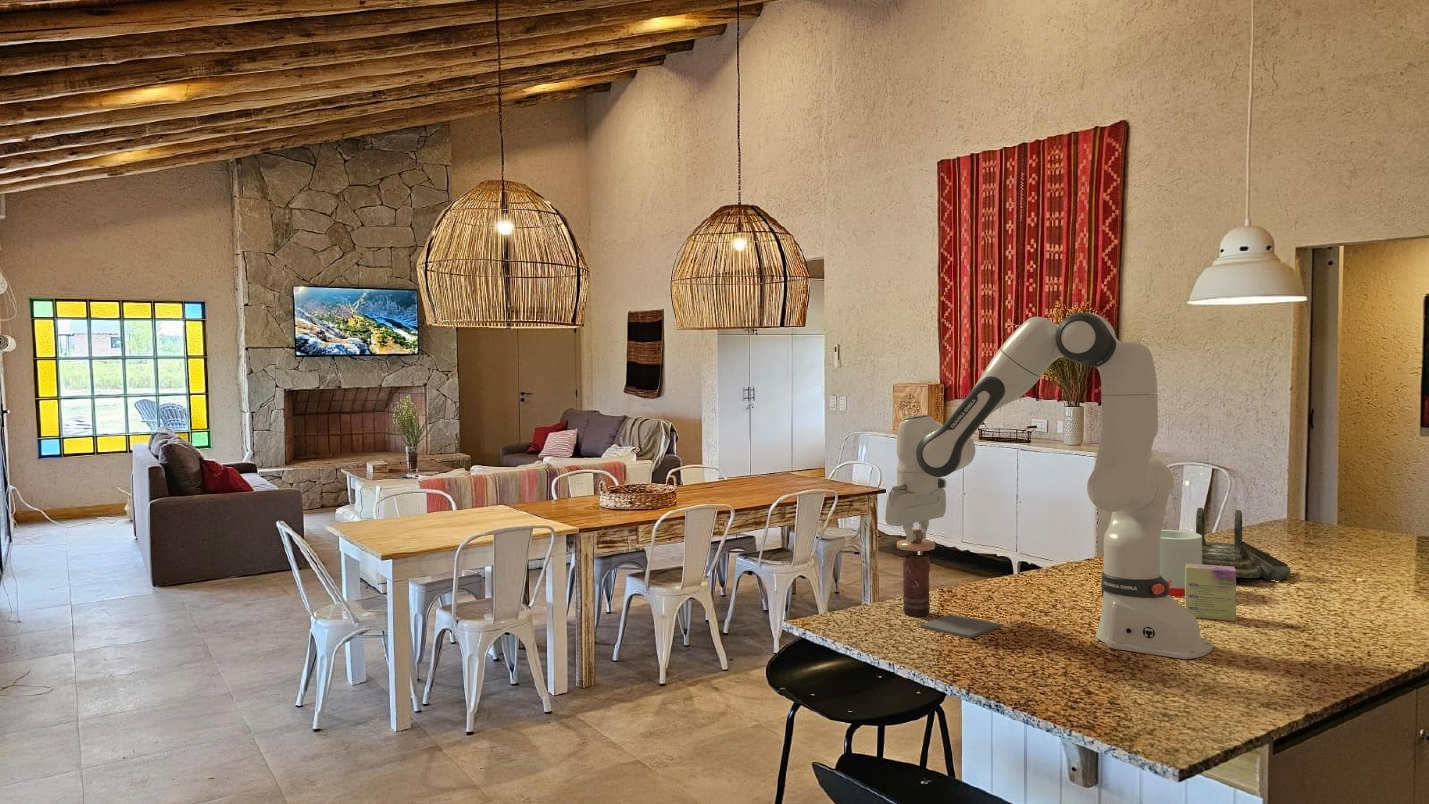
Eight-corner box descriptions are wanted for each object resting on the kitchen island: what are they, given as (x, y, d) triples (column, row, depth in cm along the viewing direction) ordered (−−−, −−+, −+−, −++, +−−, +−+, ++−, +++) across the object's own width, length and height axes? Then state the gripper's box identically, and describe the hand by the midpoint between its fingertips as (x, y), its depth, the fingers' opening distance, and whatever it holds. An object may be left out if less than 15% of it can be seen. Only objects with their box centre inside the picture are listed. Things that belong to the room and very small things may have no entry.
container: (1139, 594, 243) (1138, 538, 243) (1135, 581, 258) (1135, 528, 258) (1208, 599, 238) (1208, 541, 237) (1200, 585, 252) (1200, 530, 252)
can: (930, 617, 225) (930, 559, 224) (903, 616, 226) (902, 558, 226) (930, 611, 231) (929, 554, 230) (903, 610, 232) (903, 553, 231)
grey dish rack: (1166, 555, 293) (1166, 497, 292) (1294, 567, 273) (1294, 505, 273) (1142, 577, 264) (1142, 513, 264) (1283, 591, 245) (1283, 522, 244)
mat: (1001, 626, 216) (1001, 624, 216) (970, 638, 207) (970, 635, 207) (952, 616, 225) (952, 614, 225) (920, 627, 216) (920, 624, 216)
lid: (942, 547, 228) (942, 529, 228) (921, 552, 221) (921, 534, 221) (910, 542, 234) (910, 525, 234) (889, 547, 228) (889, 530, 228)
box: (1234, 615, 222) (1234, 565, 221) (1236, 621, 216) (1236, 570, 216) (1184, 611, 226) (1184, 562, 226) (1185, 617, 221) (1185, 567, 220)
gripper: (900, 488, 218) (901, 547, 218) (950, 480, 232) (950, 536, 232) (878, 486, 222) (879, 544, 223) (928, 478, 236) (929, 533, 237)
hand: (916, 540), depth 228 cm, fingers closed on lid, 3 cm apart
